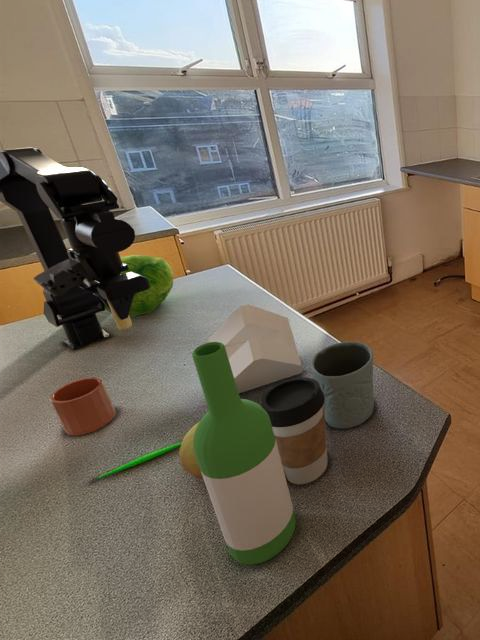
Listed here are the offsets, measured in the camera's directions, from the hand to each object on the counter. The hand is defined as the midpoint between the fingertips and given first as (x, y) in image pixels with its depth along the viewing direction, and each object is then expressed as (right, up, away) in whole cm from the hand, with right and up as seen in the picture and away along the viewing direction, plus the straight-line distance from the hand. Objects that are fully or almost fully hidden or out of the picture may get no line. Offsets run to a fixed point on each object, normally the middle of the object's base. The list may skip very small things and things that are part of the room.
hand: (121, 317), depth 83 cm
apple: (+30, -21, -15) cm, 40 cm away
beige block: (+26, -14, +3) cm, 29 cm away
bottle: (+43, -26, -26) cm, 56 cm away
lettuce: (-21, -2, +29) cm, 36 cm away
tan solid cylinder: (0, -2, +1) cm, 2 cm away
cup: (+2, -17, -7) cm, 19 cm away
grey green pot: (+46, -17, -4) cm, 49 cm away
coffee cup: (+44, -22, -16) cm, 51 cm away
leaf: (+18, -21, -14) cm, 31 cm away
